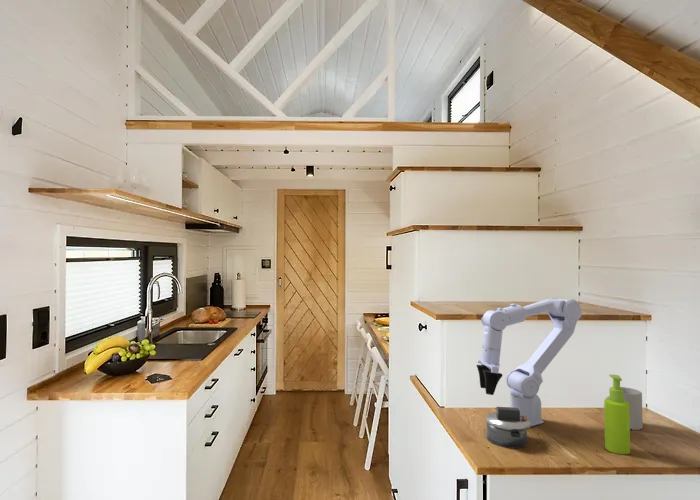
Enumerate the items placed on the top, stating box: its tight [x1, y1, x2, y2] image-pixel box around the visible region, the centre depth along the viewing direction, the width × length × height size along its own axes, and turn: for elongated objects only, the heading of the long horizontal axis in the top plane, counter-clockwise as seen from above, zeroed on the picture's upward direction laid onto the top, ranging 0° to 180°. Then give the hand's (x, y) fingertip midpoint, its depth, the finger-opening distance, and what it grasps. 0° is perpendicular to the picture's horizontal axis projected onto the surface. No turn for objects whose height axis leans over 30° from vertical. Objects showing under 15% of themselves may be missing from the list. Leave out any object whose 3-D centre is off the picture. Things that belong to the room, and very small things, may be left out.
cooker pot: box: [486, 422, 528, 449], centre depth 123 cm, size 14×11×5 cm
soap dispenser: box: [603, 374, 631, 455], centre depth 118 cm, size 6×7×20 cm
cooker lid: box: [485, 406, 531, 431], centre depth 123 cm, size 12×12×4 cm
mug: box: [605, 386, 644, 431], centre depth 135 cm, size 12×8×11 cm
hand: (486, 391), depth 135 cm, fingers open, 7 cm apart
